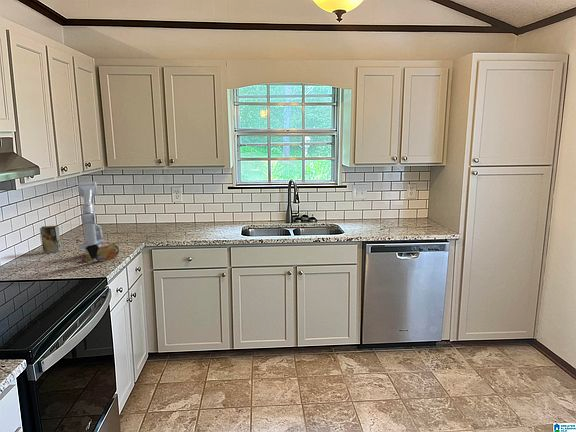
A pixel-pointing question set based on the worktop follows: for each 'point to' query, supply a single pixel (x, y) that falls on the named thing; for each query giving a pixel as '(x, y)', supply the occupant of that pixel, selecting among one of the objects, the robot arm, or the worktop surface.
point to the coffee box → (50, 239)
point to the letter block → (86, 257)
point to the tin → (107, 252)
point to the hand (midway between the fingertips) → (93, 258)
